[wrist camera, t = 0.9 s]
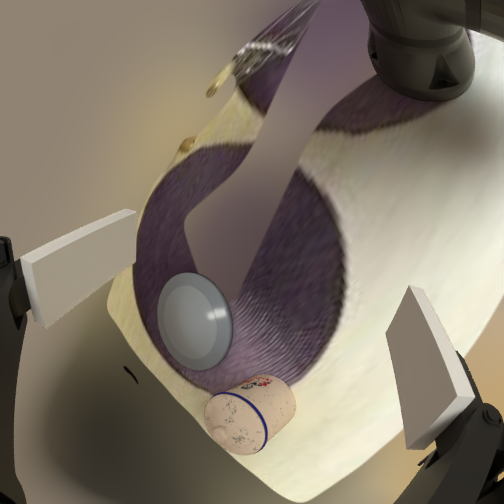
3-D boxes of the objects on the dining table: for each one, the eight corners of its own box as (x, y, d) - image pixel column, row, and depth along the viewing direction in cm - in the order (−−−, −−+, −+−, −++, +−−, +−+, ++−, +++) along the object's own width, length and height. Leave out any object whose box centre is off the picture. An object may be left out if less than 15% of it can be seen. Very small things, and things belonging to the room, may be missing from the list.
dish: (185, 252, 47) (180, 252, 46) (251, 320, 39) (246, 321, 38) (152, 321, 51) (146, 322, 50) (203, 386, 44) (198, 388, 43)
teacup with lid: (277, 361, 37) (224, 391, 27) (310, 416, 34) (266, 461, 24) (221, 389, 42) (167, 415, 32) (248, 436, 39) (200, 470, 29)
